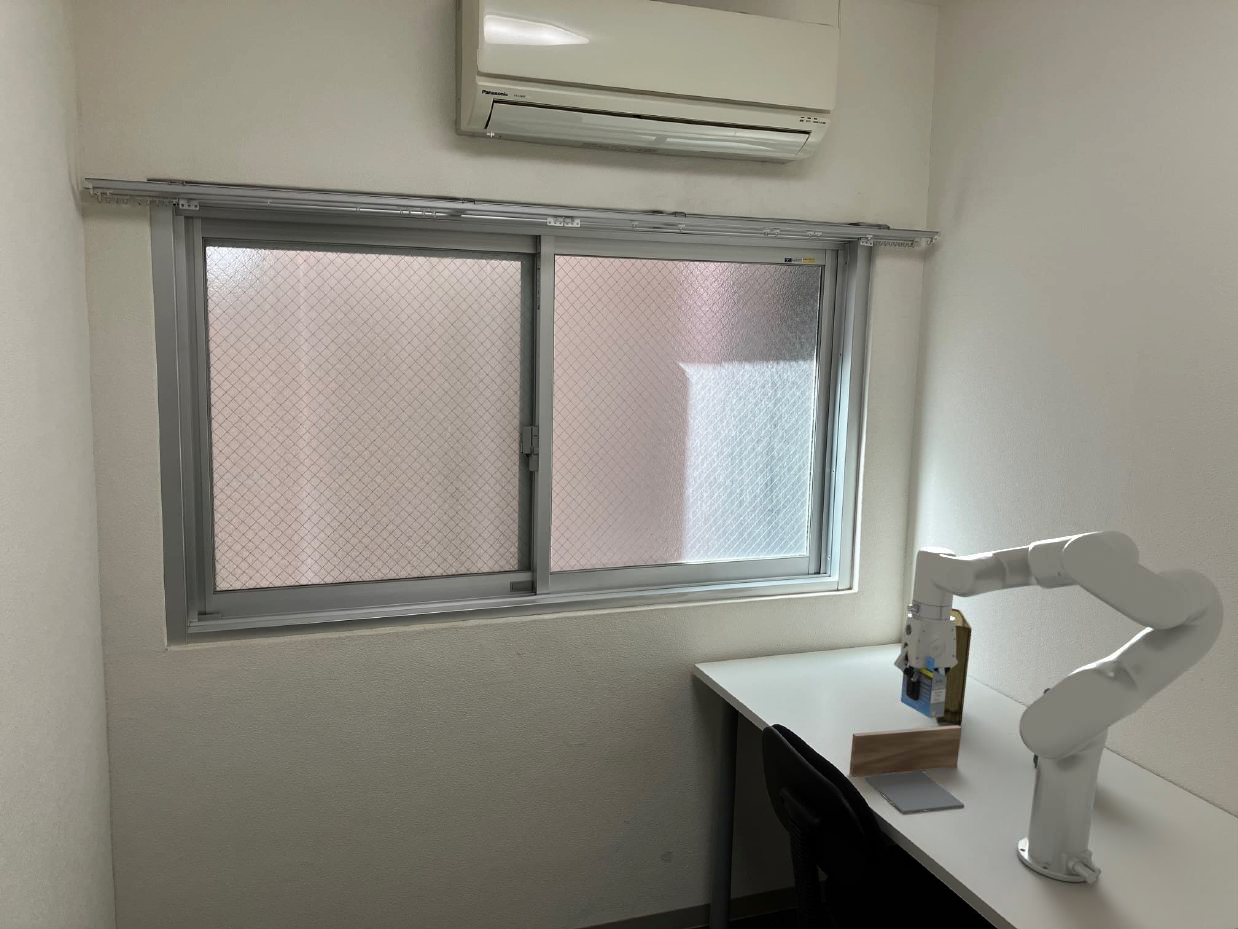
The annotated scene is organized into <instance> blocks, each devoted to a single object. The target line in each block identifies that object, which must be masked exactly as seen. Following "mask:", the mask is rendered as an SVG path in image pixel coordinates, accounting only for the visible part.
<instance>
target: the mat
mask: <svg viewBox="0 0 1238 929" xmlns="http://www.w3.org/2000/svg"><path fill="white" fill-rule="evenodd" d="M863 778H864V780H865V781H866V782H867V783H868V784H869V785H870V786H872V787H873V788H874V789H875V790H876V791H877V790H878V791H879V792H880V793H881V794H880V793H879V792H878V791H877V792H878V793H879V794H880V795H882V796H883V795H884V796H885V797H886V798H887V799H888V800H889V801H890V802H892V803H891V805H893V804H894V805H895V806H896V807H897V808H898V809H899V810H900V811H899V810H898V809H897V808H896V807H895V806H894V805H893V806H894V807H895V808H896V809H897V810H898V811H899V812H900V813H902V812H903V813H902V814H908V813H907V812H912V813H918V812H919V811H921V812H925V811H924V810H930V811H938V809H939V810H947V809H955V808H956V807H957V808H964V807H965V804H964V803H963V802H961V801H960V800H959V799H958V798H957V797H956V796H954V795H953V794H951V793H950V792H949V791H948V790H947V789H945V788H944V787H942V785H940V784H939V783H938V782H936V781H935V780H934V779H933V778H931V777H930V776H928V774H926V773H925V772H924V771H923V770H917V771H907V772H896V773H886V774H875V775H865V776H864V777H863ZM884 796H883V797H884ZM885 797H884V798H885ZM886 798H885V799H886ZM887 799H886V800H887ZM888 800H887V801H888ZM889 801H888V802H889ZM890 802H889V803H890ZM905 812H906V813H905ZM919 813H920V812H919Z"/></svg>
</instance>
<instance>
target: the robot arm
mask: <svg viewBox="0 0 1238 929" xmlns="http://www.w3.org/2000/svg"><path fill="white" fill-rule="evenodd" d="M1139 562H1140V551H1139V548H1138V546H1137V544H1136V543H1135V541H1134V540H1133V539H1132V538H1131V537H1130V536H1129V535H1127V534H1126V533H1123V532H1121V531H1118V530H1100V531H1099V530H1098V531H1094V532H1086V533H1082V534H1081V533H1080V534H1075V535H1070V536H1069V535H1068V536H1064V537H1058V538H1051V539H1044V540H1039V541H1035V542H1032V543H1031V544H1029V545H1025V546H1020V547H1014V548H1008V549H1002V550H996V551H990V552H983V553H977V554H971V555H967V556H966V555H965V556H957V555H956V553H955V552H953V551H952V550H950V549H947V548H943V547H936V546H935V547H934V546H932V547H931V546H927V547H922V548H920V549H919V550H918V551H917V554H916V560H915V569H914V570H915V571H914V579H913V591H912V599H911V604H908V605H907V607H906V610H907V611H908V612H909V614H908V615H907V618H906V622H905V624H904V629H903V634H902V640H901V645H900V646H901V647H900V654H899V655H898V656H897V658H896V659H895V661H894V663H893V665H894V667H896V668H897V669H898V670H900V671H901V672H902V674H903V673H904V674H905V676H906V677H907V686H906V695H907V696H908V697H910V698H911V699H913V700H914V701H917V700H918V698H919V688H920V682H919V681H917V680H918V677H919V674H920V670H921V669H926V668H927V666H928V660H929V657H931V658H933V659H935V664H934V670H935V671H937V672H938V673H940V674H942V675H944V676H945V675H946V674H947V673H948V672H949V671H950V669H951V668H953V667H954V666H955V665H956V664H957V663H958V661H957V659H956V627H955V620H954V618H953V617H951V612H952V608H953V601H954V596H956V597H960V598H970V597H975V596H978V595H981V594H986V593H991V592H996V591H1001V590H1009V589H1014V588H1023V587H1031V586H1032V587H1033V586H1035V587H1036V586H1039V587H1040V588H1041V589H1045V590H1049V589H1057V588H1058V589H1059V588H1065V587H1074V586H1078V587H1080V588H1081V589H1083V590H1085V591H1086V593H1089V594H1090V595H1092V596H1093V597H1095V598H1096V599H1098V600H1099V601H1101V602H1103V603H1104V604H1106V605H1107V606H1109V607H1110V608H1112V609H1114V610H1115V611H1117V612H1118V613H1120V614H1121V615H1123V616H1125V617H1126V618H1128V619H1129V620H1131V621H1133V622H1134V623H1136V624H1138V625H1140V626H1142V627H1146V628H1145V629H1143V630H1142V631H1141V632H1139V633H1138V634H1136V635H1135V636H1134V637H1132V638H1131V639H1130V640H1129V641H1128V642H1127V643H1126V644H1124V645H1123V646H1122V647H1120V648H1118V649H1117V650H1116V651H1115V652H1113V653H1112V654H1110V655H1108V656H1106V657H1104V658H1101V659H1098V660H1096V661H1093V662H1091V663H1088V664H1086V665H1084V666H1081V667H1079V668H1077V669H1075V670H1074V671H1072V672H1071V673H1069V674H1068V675H1067V676H1065V677H1064V678H1062V679H1061V680H1060V681H1059V682H1057V683H1056V684H1055V685H1054V686H1052V687H1051V689H1050V690H1049V691H1047V692H1046V693H1045V694H1042V695H1040V697H1038V698H1037V699H1036V700H1034V701H1033V702H1032V703H1031V704H1029V705H1028V706H1027V707H1026V708H1025V710H1024V711H1023V713H1022V714H1021V716H1020V719H1019V723H1018V728H1019V735H1020V738H1021V741H1022V743H1023V744H1024V745H1025V747H1026V748H1027V749H1028V750H1029V751H1030V752H1031V753H1032V754H1033V755H1034V754H1036V755H1037V756H1038V762H1037V767H1036V770H1035V779H1034V787H1033V794H1032V803H1031V810H1030V811H1031V812H1030V818H1029V827H1028V835H1027V837H1025V838H1022V839H1021V840H1019V841H1018V843H1017V844H1016V845H1017V846H1016V854H1017V856H1018V858H1019V859H1020V860H1021V861H1022V862H1023V863H1024V864H1025V865H1026V866H1027V867H1028V868H1030V869H1031V870H1033V871H1035V872H1037V873H1039V874H1040V875H1041V874H1042V875H1043V876H1046V877H1048V878H1051V879H1055V880H1058V881H1062V882H1063V881H1064V882H1071V883H1080V882H1082V883H1083V882H1087V884H1093V883H1095V882H1096V880H1097V877H1099V876H1101V874H1102V869H1101V868H1099V867H1098V866H1097V865H1096V864H1095V862H1094V859H1092V857H1093V851H1092V850H1090V849H1089V842H1090V841H1089V840H1090V835H1091V834H1090V832H1091V825H1092V818H1093V812H1094V804H1095V796H1096V789H1097V783H1098V782H1097V781H1098V778H1099V777H1098V776H1099V770H1100V763H1101V759H1102V755H1103V752H1104V749H1105V745H1106V742H1107V738H1108V735H1109V734H1108V733H1109V728H1110V727H1111V726H1113V725H1115V724H1116V723H1118V722H1119V721H1122V720H1123V719H1126V718H1127V717H1129V716H1131V715H1132V714H1134V713H1136V712H1137V711H1140V709H1141V708H1142V707H1143V706H1144V705H1146V703H1148V702H1149V701H1150V700H1151V699H1152V698H1154V697H1155V696H1156V695H1158V694H1159V693H1160V692H1162V691H1163V690H1165V689H1166V688H1168V687H1169V686H1170V685H1171V684H1173V683H1174V682H1176V680H1178V679H1179V678H1180V677H1182V676H1183V675H1184V674H1185V673H1187V672H1188V671H1189V670H1191V669H1192V668H1194V667H1195V666H1196V665H1198V663H1199V662H1201V661H1202V660H1203V659H1204V658H1205V657H1206V655H1208V653H1209V652H1210V651H1211V650H1212V648H1213V647H1214V646H1215V644H1216V642H1217V641H1218V639H1219V636H1220V634H1221V632H1222V628H1223V625H1224V617H1225V616H1224V615H1225V614H1224V613H1225V612H1224V604H1223V600H1222V597H1221V594H1220V592H1219V590H1218V587H1217V585H1215V583H1214V582H1213V581H1212V579H1211V578H1209V577H1208V576H1207V575H1206V574H1204V573H1203V572H1200V571H1198V570H1195V569H1191V568H1185V567H1177V568H1176V567H1175V568H1170V569H1166V570H1165V569H1164V570H1161V571H1158V572H1154V570H1151V569H1149V568H1148V567H1146V566H1144V565H1142V564H1140V563H1139ZM905 662H908V664H907V667H906V666H905ZM913 668H914V670H913ZM912 671H913V672H912Z"/></svg>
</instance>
